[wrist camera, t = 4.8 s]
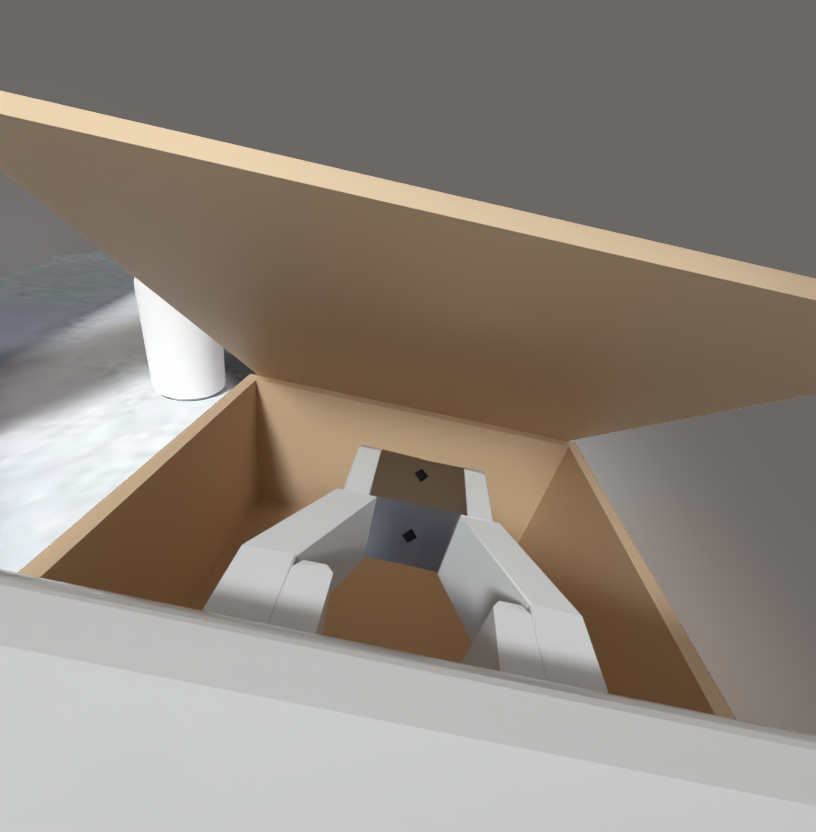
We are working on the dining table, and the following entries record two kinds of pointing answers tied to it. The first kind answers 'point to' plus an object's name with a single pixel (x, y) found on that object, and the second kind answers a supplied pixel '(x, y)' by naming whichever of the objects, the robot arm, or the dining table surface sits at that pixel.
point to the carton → (376, 579)
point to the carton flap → (417, 283)
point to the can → (178, 351)
